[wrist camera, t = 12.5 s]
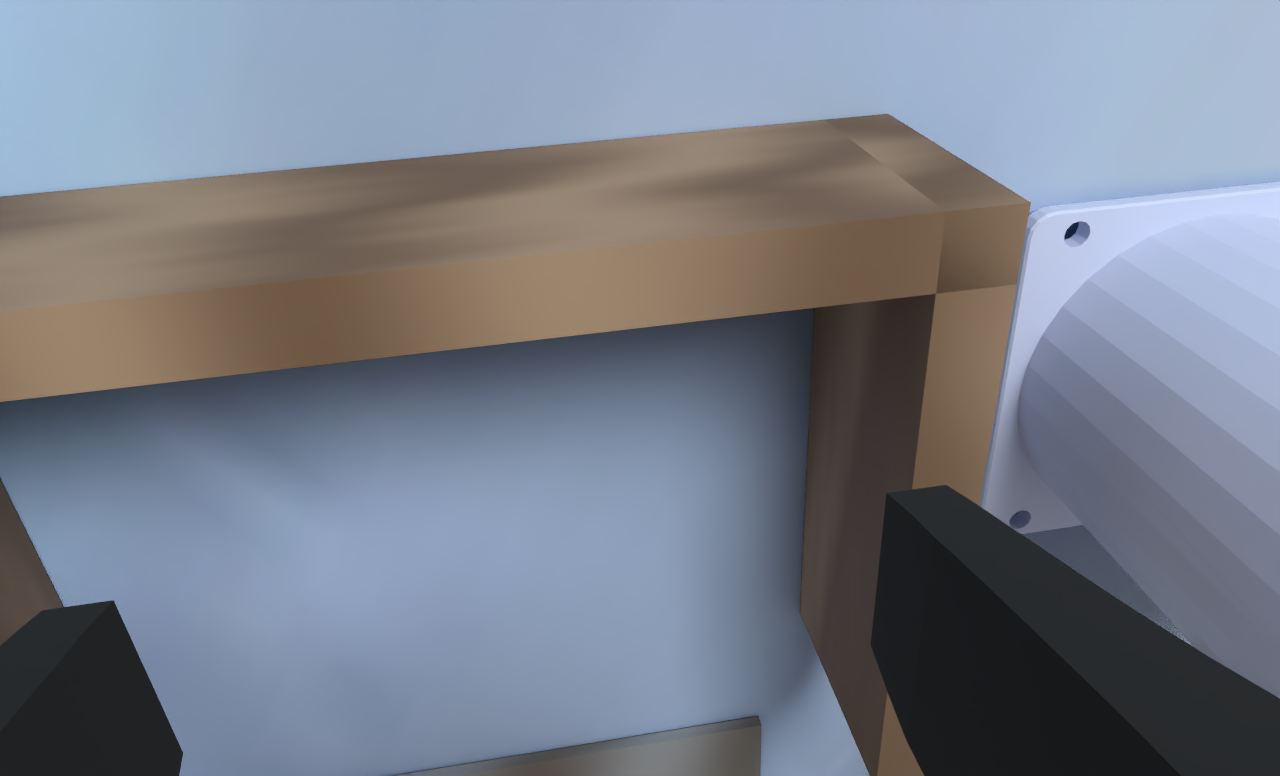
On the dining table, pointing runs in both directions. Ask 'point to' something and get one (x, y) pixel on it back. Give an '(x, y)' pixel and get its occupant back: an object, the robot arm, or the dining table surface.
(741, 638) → the dining table surface
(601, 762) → the open box
